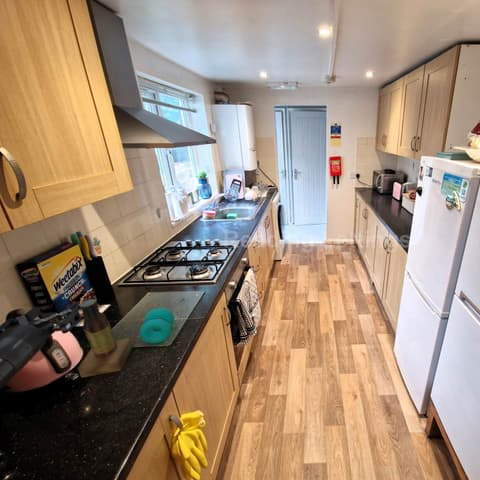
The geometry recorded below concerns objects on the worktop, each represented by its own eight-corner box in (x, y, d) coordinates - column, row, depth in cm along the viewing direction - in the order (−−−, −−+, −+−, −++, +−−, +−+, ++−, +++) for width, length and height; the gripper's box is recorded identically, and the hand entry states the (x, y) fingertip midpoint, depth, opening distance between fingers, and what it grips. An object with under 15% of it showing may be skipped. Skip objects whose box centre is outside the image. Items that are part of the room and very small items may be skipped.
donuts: (176, 324, 108) (172, 304, 104) (172, 341, 99) (167, 320, 96) (148, 329, 105) (143, 309, 101) (142, 347, 96) (135, 325, 92)
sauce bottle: (98, 347, 91) (79, 298, 84) (119, 342, 93) (103, 294, 86) (91, 361, 85) (70, 310, 78) (114, 355, 88) (96, 305, 80)
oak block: (81, 377, 84) (77, 368, 83) (98, 352, 94) (94, 343, 92) (121, 370, 87) (117, 361, 85) (133, 346, 97) (130, 337, 95)
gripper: (44, 332, 55) (85, 291, 70) (-45, 345, 52) (18, 299, 66) (57, 359, 58) (94, 314, 73) (-27, 373, 54) (30, 323, 69)
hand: (57, 307), depth 69 cm, fingers open, 8 cm apart
